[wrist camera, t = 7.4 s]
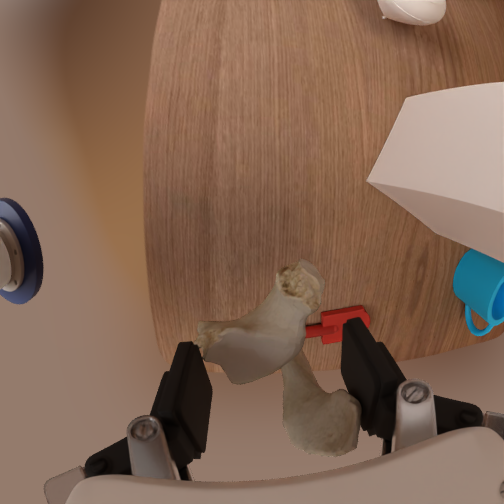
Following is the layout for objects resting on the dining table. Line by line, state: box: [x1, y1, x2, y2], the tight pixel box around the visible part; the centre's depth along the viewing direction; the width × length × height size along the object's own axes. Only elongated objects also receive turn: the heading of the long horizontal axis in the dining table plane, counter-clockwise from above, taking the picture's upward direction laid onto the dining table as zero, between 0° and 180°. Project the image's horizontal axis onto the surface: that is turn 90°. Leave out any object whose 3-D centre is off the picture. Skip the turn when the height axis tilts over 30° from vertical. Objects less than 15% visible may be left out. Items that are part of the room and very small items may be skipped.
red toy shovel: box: [305, 305, 370, 344], centre depth 31 cm, size 18×4×1 cm, turn 98°
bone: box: [194, 258, 362, 457], centre depth 11 cm, size 9×6×10 cm
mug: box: [453, 249, 504, 336], centre depth 27 cm, size 12×8×8 cm
